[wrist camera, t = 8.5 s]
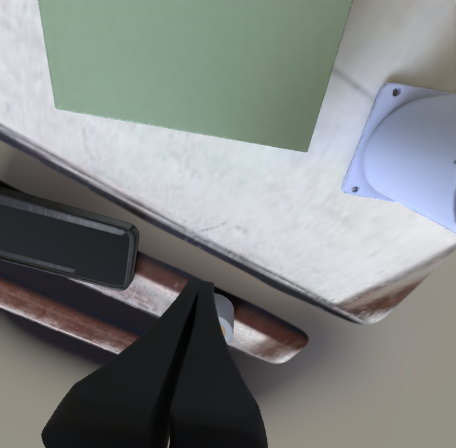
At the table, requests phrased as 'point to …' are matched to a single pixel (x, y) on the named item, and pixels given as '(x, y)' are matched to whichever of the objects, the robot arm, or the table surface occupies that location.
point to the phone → (66, 240)
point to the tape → (225, 315)
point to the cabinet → (197, 63)
